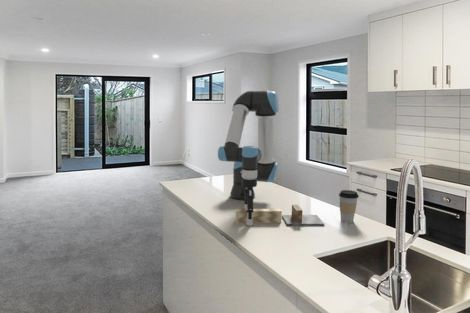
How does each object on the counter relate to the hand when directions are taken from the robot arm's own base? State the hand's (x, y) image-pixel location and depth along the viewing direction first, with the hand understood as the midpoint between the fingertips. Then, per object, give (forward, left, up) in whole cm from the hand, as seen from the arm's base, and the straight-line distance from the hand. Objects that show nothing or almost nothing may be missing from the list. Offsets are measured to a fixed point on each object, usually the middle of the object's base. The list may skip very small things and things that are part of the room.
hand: (248, 220), depth 186 cm
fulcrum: (+19, +19, 0) cm, 27 cm away
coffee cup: (+35, +35, 0) cm, 50 cm away
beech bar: (+3, +4, 0) cm, 5 cm away
